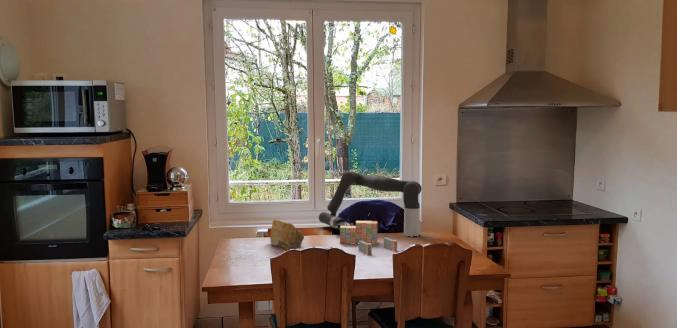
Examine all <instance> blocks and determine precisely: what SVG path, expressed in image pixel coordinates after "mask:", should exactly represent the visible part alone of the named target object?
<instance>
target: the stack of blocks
mask: <svg viewBox="0 0 677 328" xmlns="http://www.w3.org/2000/svg"><path fill="white" fill-rule="evenodd" d="M359 241H364V242H366V243H371V244H372V245H377V244H378V221H377V220H356V221H355V225H353V226H340V230H339V244H345V243H359Z"/></svg>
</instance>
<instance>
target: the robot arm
mask: <svg viewBox="0 0 677 328" xmlns="http://www.w3.org/2000/svg"><path fill="white" fill-rule="evenodd" d="M350 186H359V187H366V188H369V189H372V190H375V191H379V192H386V193H387V192H388V193H389V192H391V193H394V192H397V193H398V192H399V193H403V194H402V196H403V197H402V198H403V199H402V200H403V206H404V207H403V208H404V209H403V210H404V211H403V214H404V215H403V216H404V218H403V220H404V221H403V236H404V235H405V236H404V237H408V236H410V237H411V238H414V237H413V236H417V235H420V236H421V229H422V228H421V226H422V225H421V224H422V223H421V222H422V221H421V219H420V210H421V209H420V208H421V205H420V202H419V195H420V194H421V192H422V185H421V184H420V183H419V182H418V181H415V180H413V181H412V180H399V179H397V178H392V177H388V176H382V175H367V174H364V173H363V174H362V173H358V172H357V171H349V170H348V171H345V172H343V173H342V176H341V177H340V181H339V183H338V186H337V188H336V191H335V192H334V194H333V196H332V198H331V200H330V201H329V202H328V205H327V207H326V208H327V210H328V212H326V211H325V212H324V211H322V212H320V214H319V215H318V220H319V222H320V223H322V224H324V225H325V224H326V225H328V226H330V227H332V228H333V229H336V230H338V231H340V226H354V222H347V221H346V219H344V218H342V217H339V216H337V212H338V211H339V209H340V207H341V205H342V203H343V201H344V196H345V195H346V192H347V190H348V189H349V187H350ZM329 212H330V213H329ZM417 237H418V236H417Z"/></svg>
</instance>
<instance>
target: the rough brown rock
mask: <svg viewBox="0 0 677 328" xmlns="http://www.w3.org/2000/svg"><path fill="white" fill-rule="evenodd" d="M302 231H303V230H300V229H297V228H296V227H295V225H294V224H293V223H291V222H286V221H285V222H284V221H282V220H280V219H273V220H272V225H271V229H270V235H269V236H270V237H269V239H270V244H271V245H272V246H276V247H281V248H282V249H283V250H284V251H287V249H288V250H289V249H291V248H296V246H297V248H300V247H301V246H302V242H303V240H304V239H305V236H304V233H303V232H302ZM299 246H300V247H299Z"/></svg>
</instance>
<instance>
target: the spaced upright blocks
mask: <svg viewBox="0 0 677 328" xmlns="http://www.w3.org/2000/svg"><path fill="white" fill-rule="evenodd" d="M372 246H373V244H371V243H366V242H364V241H359V244H358V251H359V252H362V253H363V254H366V255H368V256H369V255H373V253H372V251H373V248H372ZM385 247H386V249H388V250H390V249H391V250H390V251H392V250H393V252H397V251H398V240H397V239H392V238H389V237H383V248H385ZM396 250H397V251H396Z"/></svg>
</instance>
